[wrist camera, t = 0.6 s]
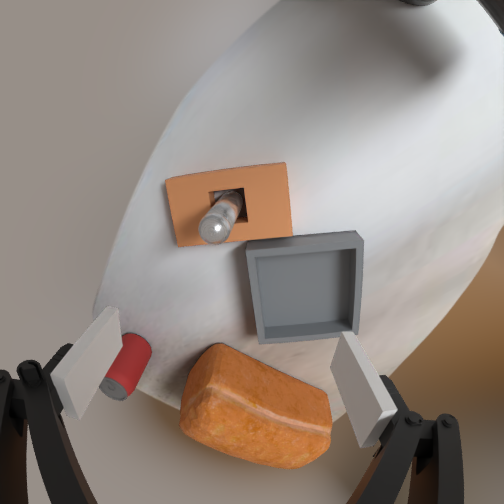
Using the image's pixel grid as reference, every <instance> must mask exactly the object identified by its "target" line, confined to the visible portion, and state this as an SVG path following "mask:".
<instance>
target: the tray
mask: <svg viewBox="0 0 504 504" xmlns="http://www.w3.org/2000/svg"><path fill="white" fill-rule="evenodd" d="M363 255H364V240H363V239H362V237H361V236H360V235H359V234H358V233H357V232H356V230H355V231H343V232H331V233H319V234H308V235H297V236H288V237H277V238H266V239H255V240H248V242H247V247H246V258H247V265H248V272H249V279H250V286H251V293H252V300H253V307H254V314H255V321H256V328H257V335H258V342H259V344H272V343H286V342H298V341H309V340H318V339H328V338H336V337H340V335H341V332H354V334H355V335H358V330H359V320H360V309H361V296H362V279H363Z"/></svg>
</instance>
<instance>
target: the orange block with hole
mask: <svg viewBox="0 0 504 504" xmlns="http://www.w3.org/2000/svg"><path fill="white" fill-rule="evenodd" d="M165 182H166V188H167V194H168V199H169V204H170V210H171V215H172V220H173V225H174V230H175V235H176V239H177V244H178V247H184V246H193V245H203V244H208V243H206V242H205V241H203V240H202V238H201V237H200V234H199V223H200V221H201V220H202V218H203V217H204V216H205V215H206V214H207V213H208V211H209V210H210V209H211V208H212V207H213V206H214V204H215V198H214V191H219V190H227V189H235V188H243V187H244V193H245V200H246V208H247V216H248V217H238V218H237V219H236V221H235V224H234V226H233V228H232V230H231V233H230V235H229V237H228V238H227V240H226V241H225V242H234V241H245V240H255V239H266V238H277V237H288V236H293V233H292V220H291V209H290V198H289V187H288V177H287V168H286V163H285V162H282V163H272V164H262V165H253V166H244V167H236V168H229V169H221V170H214V171H207V172H201V173H194V174H188V175H182V176H176V177H172V178H169V179H167V180H165ZM223 243H224V242H223Z"/></svg>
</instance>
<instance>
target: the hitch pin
mask: <svg viewBox="0 0 504 504" xmlns="http://www.w3.org/2000/svg"><path fill="white" fill-rule="evenodd" d="M242 205H243V199H242V197H241V195H240V194H239V193H237V192H235V191H228V192H226V193H224V194H223V195H222V196H221V198H220V199H219V200H218V201H217V202H216V203H215V204H214V206H213V207H212V208H211V209H210V210H209V211H208V213H207V214H206V215H205V216H204V217H203V218H202V220H201V221H200V223H199V234H200V237H201V238H202V240H203V241H205V242H206V243H208V244H211V245H219V244H221V243H223V242H225V241H226V240H227V238H228V237H229V235H230V233H231V230H232V228H233V226H234V224H235V221H236V219H237V217H238V214H239V212H240V210H241V208H242Z"/></svg>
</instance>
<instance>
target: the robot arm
mask: <svg viewBox="0 0 504 504" xmlns="http://www.w3.org/2000/svg"><path fill="white" fill-rule="evenodd" d="M400 1H403V2H405V3H409V4H413V5H429V4H432V3H434V2H435V1H436V0H400ZM477 1H478V2H479V4H480V5H481V6H482V7H483V8H484V10H485V11H486V12H487V14H488V15H489V16H490V17H491V19H492V20H493V21H494V23H495V24H496V25H497V27H498V28H499V31H500V33H501V34H502V35H503V36H504V0H477ZM122 346H123V344H122V337H121V328H120V319H119V309H118V308H115V307H110V306H107V307H106V308H105V309H104V310H103V311H102V312H101V313H100V315H99V316H98V317H97V318H96V319H95V320H94V322H93V323H92V324H91V325H90V326H89V327H88V328H87V330H86V331H85V332H84V333H83V334H82V336H81V337H80V338H79V339H78V340H77V342H76V343H75V344H74V345H73V344H69V343H68V344H66V345H64V346H62V347H61V348H60V349H59V350H58V351H57V352H56V354H55V355H54V356H53V357H52V359H50V361H49V362H48V363H47V364H46V366H45V367H44V368H43V369H42V368H41V365H40V363H38V362H37V361H35V360H26V361H23V362H22V363H20V364H19V365H18V367H17V373H18V376H19V378H20V380H17V379H12V378H11V376H10V374H9V372H7V371H6V370H0V504H28V493H27V473H26V450H27V428H28V427H27V426H28V425H29V430H30V435H31V439H32V444H33V448H34V452H35V455H36V459H37V462H38V466H39V469H40V473H41V476H42V479H43V482H44V485H45V487H46V491H47V493H48V496H49V498H50V501H51V504H97V501H96V499H95V498H94V496H93V494H92V492H91V490H90V488H89V485H88V483H87V481H86V479H85V477H84V475H83V472H82V470H81V468H80V465H79V463H78V461H77V458H76V456H75V453H74V451H73V448H72V445H71V443H70V440H69V437H68V434H67V431H66V428H65V425H64V422H63V419H62V416H61V414H60V413H61V411H62V410H63V408H64V410H65V412H66V415H67V416H69V417H72V418H74V419H77V420H80V419H81V417H82V416H83V414H84V412H85V410H86V408H87V406H88V404H89V403H90V401H91V399H92V398H93V396H94V394H95V392H96V390H97V389H98V387H99V385H100V383H101V382H102V380H103V378H104V377H105V375H106V373H107V371H108V370H109V368H110V366H111V365H112V363H113V361H114V360H115V358H116V356H117V355H118V353H119V351H120V350H121V348H122ZM330 368H331V371H332V373H333V376H334V379H335V381H336V384H337V387H338V389H339V392H340V394H341V397H342V400H343V402H344V405H345V408H346V410H347V413H348V416H349V419H350V421H351V424H352V427H353V430H354V432H355V435H356V438H357V440H358V443H359V446H360V448H365V447H371V446H374V445H375V444H376V442H377V441H378V439H379V440H380V442H381V446H380V447H379V448H378V450H377V451H376V453H375V454H374V455H373V457H374V458H373V460H372V462H371V464H370V466H369V467H368V469H367V471H366V473H365V474H364V476H363V478H362V480H361V481H360V483H359V485H358V486H357V488H356V489H355V491H354V493H353V494H352V496H351V497H350V499H349V500H348V502H347V503H346V504H394V502H395V500H396V497H397V495H398V493H399V491H400V489H401V486H402V484H403V482H404V479H405V477H406V474H407V472H408V470H409V467H410V464H411V462H412V472H411V481H410V490H409V497H408V504H464V479H463V460H462V449H461V440H460V432H459V425H458V422H457V420H456V418H455V417H453V416H452V415H450V414H441V415H439V417H438V418H437V419H436V421H433V420H423V418H422V417H421V415H420V414H418V413H416V412H413V411H409V409H408V407H407V406H406V404H405V402H404V400H403V399H402V397H401V395H400V394H399V392H398V390H397V389H396V387H395V385H394V384H393V382H392V380H390V379H389V378H388V377H387V376H386V375H378V373H377V372H376V370H375V368H374V366H373V365H372V363H371V361H370V359H369V358H368V356H367V354H366V353H365V351H364V349H363V347H362V346H361V344H360V342H359V341H358V339H357V337H356V336H355V334H354V332H341V335H340V339H339V342H338V345H337V348H336V351H335V354H334V357H333V360H332V363H331V366H330Z"/></svg>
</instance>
